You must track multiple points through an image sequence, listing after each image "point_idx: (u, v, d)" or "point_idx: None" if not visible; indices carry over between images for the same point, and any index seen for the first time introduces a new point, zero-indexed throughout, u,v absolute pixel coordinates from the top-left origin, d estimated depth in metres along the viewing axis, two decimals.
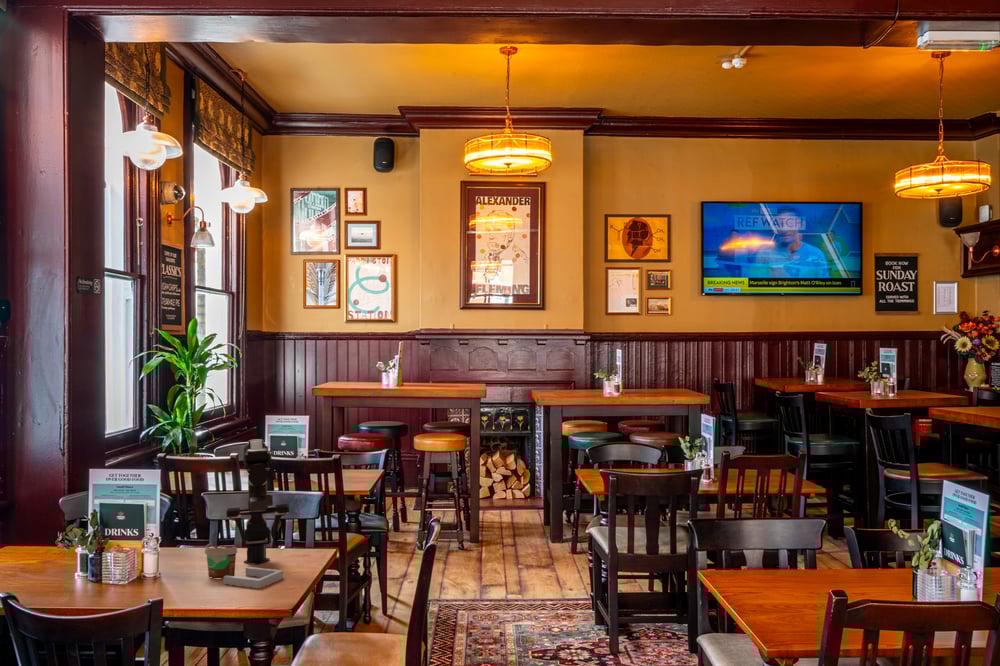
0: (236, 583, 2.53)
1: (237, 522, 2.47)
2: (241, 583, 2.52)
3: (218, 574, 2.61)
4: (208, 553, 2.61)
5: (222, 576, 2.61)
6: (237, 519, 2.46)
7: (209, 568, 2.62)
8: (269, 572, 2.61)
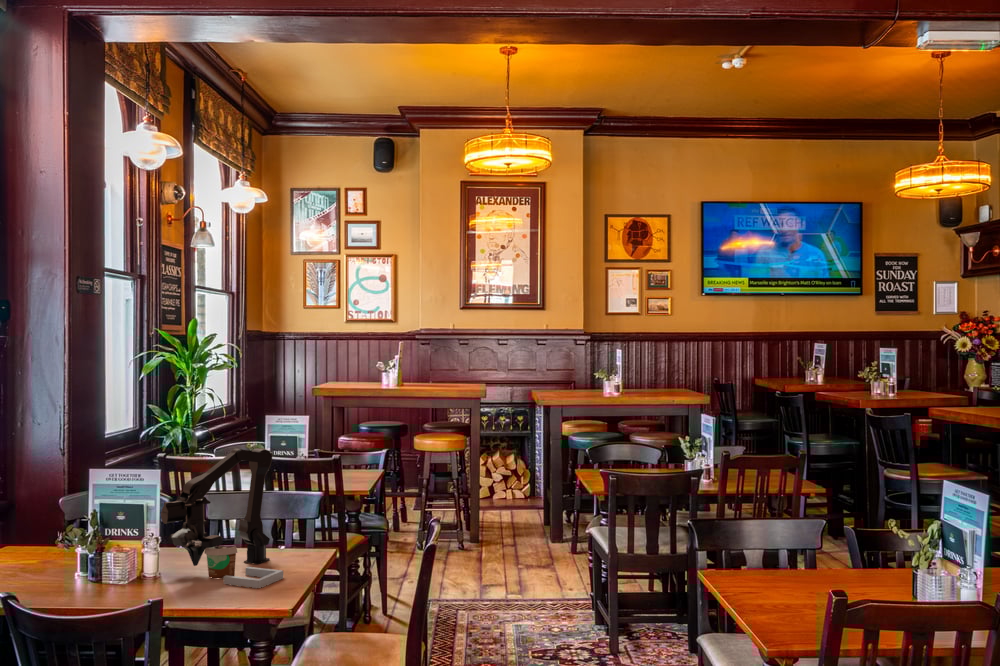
0: (236, 583, 2.53)
1: (187, 549, 2.66)
2: (241, 583, 2.52)
3: (218, 574, 2.61)
4: (208, 553, 2.61)
5: (222, 576, 2.61)
6: (185, 547, 2.65)
7: (209, 568, 2.62)
8: (269, 572, 2.61)
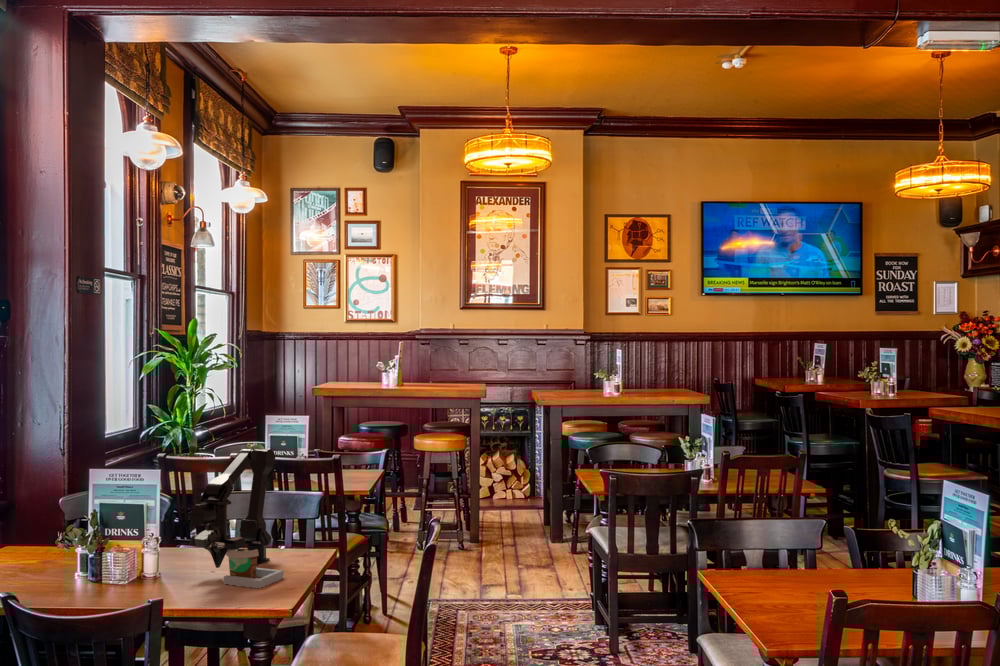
0: (236, 583, 2.53)
1: (209, 551, 2.62)
2: (241, 583, 2.52)
3: None
4: (229, 555, 2.57)
5: None
6: (208, 549, 2.61)
7: (230, 570, 2.58)
8: (269, 572, 2.61)
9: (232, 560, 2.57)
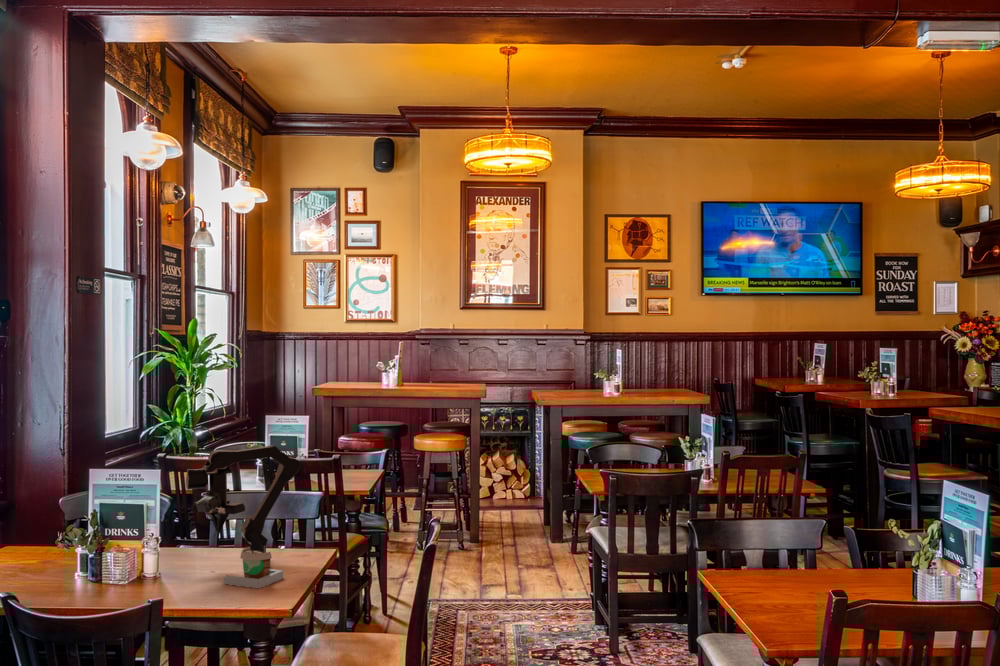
0: (236, 583, 2.53)
1: (210, 516, 2.75)
2: (241, 583, 2.52)
3: None
4: (243, 557, 2.55)
5: None
6: (208, 514, 2.74)
7: (244, 573, 2.56)
8: None
9: (245, 562, 2.55)
